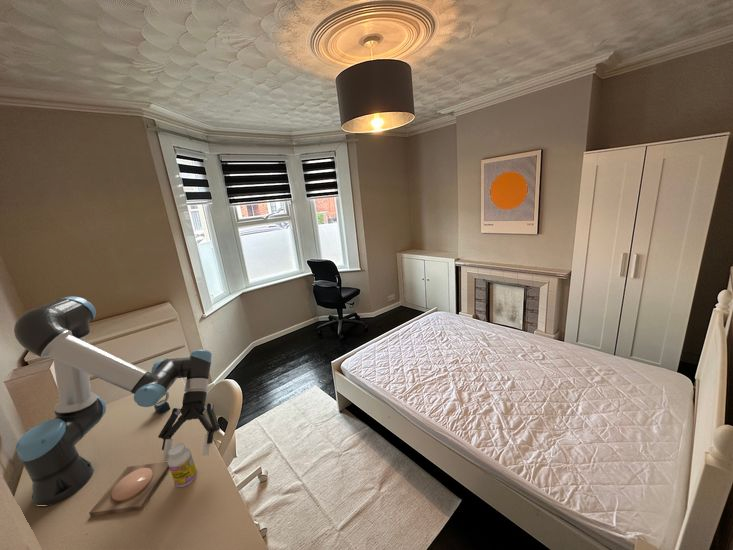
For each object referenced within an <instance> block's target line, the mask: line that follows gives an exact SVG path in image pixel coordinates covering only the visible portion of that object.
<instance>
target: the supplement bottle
mask: <svg viewBox="0 0 733 550" xmlns="http://www.w3.org/2000/svg"><path fill="white" fill-rule="evenodd" d="M168 454H169V456H170V457H169V459H168V461H167V462H168V465H169V468H170V469H169V470H170V473H171V476H172V480H173V482H174V485H175V486H176V487H178V488H183V487H186V486H188V485H190V484H191V483H192V482H193V481H194V480H195V479H196V477H197V474H198V470H197V467H196V463H195V461H194V458H193V455H192V452H191V449H189V448H187V447H186V445H185V443H183V442H180V443H176V444H175V445H173V446H171V449H170V450H169V452H168Z"/></svg>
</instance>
